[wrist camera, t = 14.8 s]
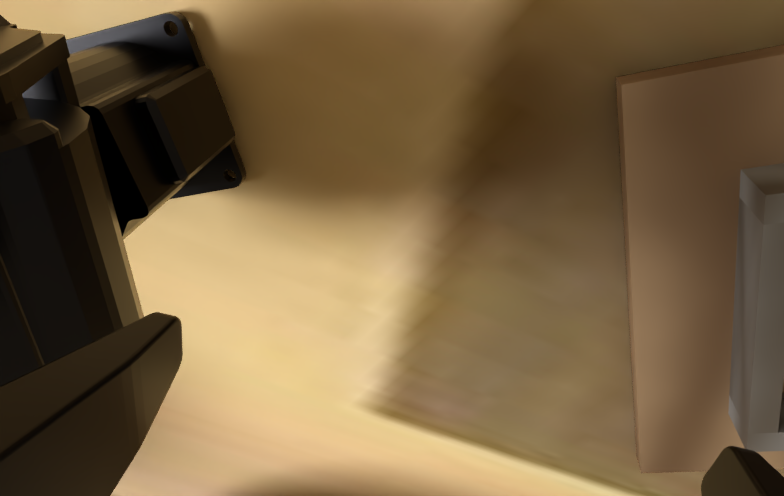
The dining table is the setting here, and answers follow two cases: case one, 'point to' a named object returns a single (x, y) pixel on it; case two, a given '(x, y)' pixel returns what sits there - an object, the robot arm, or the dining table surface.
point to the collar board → (705, 257)
